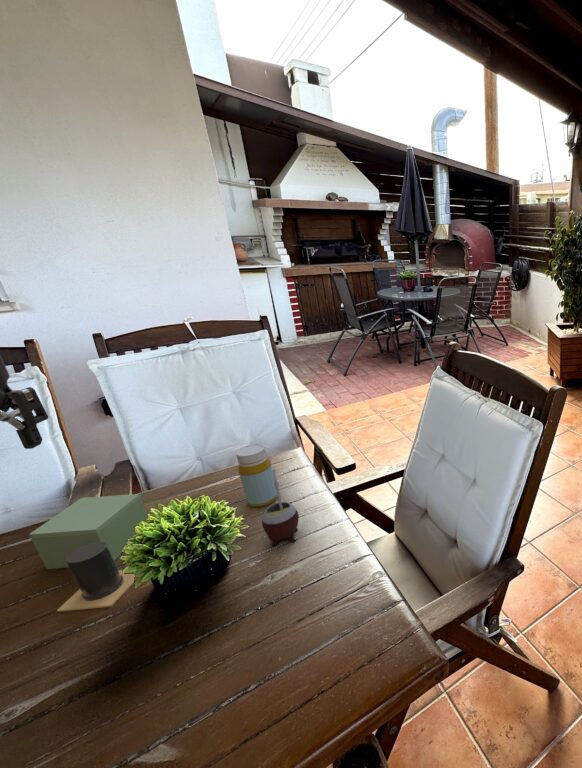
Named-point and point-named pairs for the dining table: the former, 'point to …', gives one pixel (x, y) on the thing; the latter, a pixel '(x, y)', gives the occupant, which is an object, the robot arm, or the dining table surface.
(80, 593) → the coaster
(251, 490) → the bottle
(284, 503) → the mate gourd
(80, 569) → the holder
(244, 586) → the dining table surface
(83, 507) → the block
